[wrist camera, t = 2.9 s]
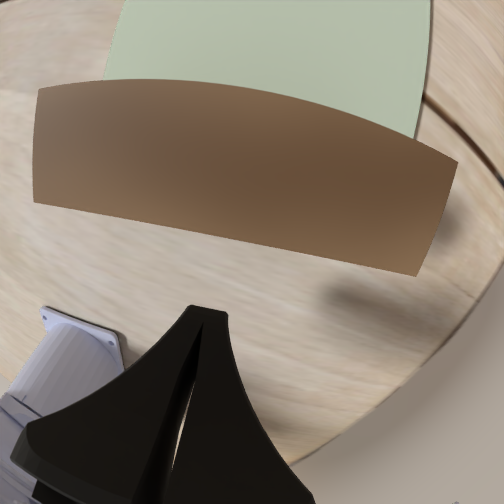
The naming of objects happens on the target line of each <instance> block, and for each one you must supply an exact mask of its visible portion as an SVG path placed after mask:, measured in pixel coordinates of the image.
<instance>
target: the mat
mask: <svg viewBox="0 0 504 504" xmlns="http://www.w3.org/2000/svg"><path fill="white" fill-rule="evenodd" d="M429 29H430V0H125V3H124V5H123V8H122V11H121V14H120V17H119V20H118V23H117V26H116V29H115V33H114V36H113V40H112V43H111V47H110V51H109V55H108V59H107V63H106V68H105V72H104V77H103V80H118V79H169V80H187V81H199V82H209V83H218V84H226V85H233V86H240V87H246V88H252V89H257V90H263V91H268V92H273V93H277V94H282V95H286V96H291V97H295V98H299V99H303V100H307V101H310V102H314V103H318V104H321V105H324V106H328V107H331V108H334V109H338V110H341V111H344V112H347V113H350V114H353V115H356V116H358V117H361V118H364V119H367V120H369V121H372V122H375V123H377V124H380V125H382V126H385V127H387V128H390V129H392V130H394V131H397V132H399V133H401V134H404V135H406V136H408V137H410V138H412V139H413V137H414V132H415V128H416V123H417V119H418V114H419V109H420V103H421V98H422V92H423V86H424V79H425V72H426V64H427V55H428V44H429Z"/></svg>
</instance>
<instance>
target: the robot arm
mask: <svg viewBox="0 0 504 504" xmlns="http://www.w3.org/2000/svg"><path fill="white" fill-rule="evenodd" d="M40 314H41V317H42V320H43V323H44V326H45V328H46V331H47V334H46V336H45V337H44V338H43V340H42V341H41V342H40V344H39V345H38V346H37V348H36V349H35V350H34V352H33V353H32V354H31V356H30V357H29V359H28V360H27V362H26V363H25V364H24V366H23V367H22V369H21V370H20V372H19V373H18V375H17V376H16V378H15V379H14V381H13V382H12V384H11V385H10V387H9V389H8V390H7V392H5V393H4V395H3V396H2V397H1V398H0V504H316V503H315V501H314V498H313V495H312V493H311V492H310V491H309V490H308V489H307V488H306V487H305V486H304V485H303V483H302V482H301V481H300V480H299V479H298V478H297V476H296V475H295V474H294V473H293V472H292V470H291V469H290V468H289V466H288V465H287V464H286V462H285V461H284V460H283V458H282V457H281V455H280V454H279V453H278V451H277V450H276V448H275V446H274V445H273V443H272V442H271V440H270V438H269V437H268V435H267V434H266V432H265V430H264V429H263V427H262V425H261V423H260V421H259V419H258V417H257V416H256V414H255V412H254V410H253V407H252V405H251V403H250V401H249V399H248V396H247V394H246V392H245V389H244V386H243V384H242V381H241V378H240V375H239V372H238V369H237V366H236V362H235V358H234V355H233V351H232V346H231V342H230V336H229V328H228V314H227V313H226V312H225V311H219V310H214V309H209V308H205V307H200V306H195V305H189V306H187V308H186V309H185V311H184V312H183V313H182V315H181V316H180V317H179V318H178V320H177V321H176V322H175V323H174V324H173V325H172V327H171V328H170V329H169V330H168V331H167V332H166V333H165V334H164V335H163V336H162V337H161V338H160V339H159V341H158V342H157V343H156V344H155V345H154V346H152V347H151V348H150V349H149V350H148V351H147V352H146V353H145V354H144V355H143V356H142V357H141V358H140V359H138V360H137V361H136V362H135V363H134V364H132V365H131V366H130V367H129V368H128V369H126V370H125V371H124V366H123V361H122V357H121V352H120V346H119V341H118V337H117V335H116V334H115V333H114V332H112V331H109V330H106V329H103V328H100V327H97V326H94V325H91V324H88V323H86V322H83V321H80V320H77V319H75V318H72V317H69V316H67V315H64V314H62V313H59V312H57V311H54V310H52V309H49V308H47V307H45V306H42V307H41V308H40ZM194 383H195V384H194ZM193 386H194V387H193ZM192 389H193V391H192ZM191 392H192V395H191ZM190 395H191V399H190V403H189V407H188V411H187V415H186V419H185V422H184V426H183V430H182V434H181V438H180V442H179V445H178V449H177V453H176V457H175V461H174V464H173V460H174V455H175V449H176V444H177V439H178V434H179V430H180V426H181V423H182V419H183V416H184V413H185V410H186V407H187V404H188V401H189V398H190ZM172 466H173V468H172ZM171 471H172V472H171ZM453 504H459V503H458V502H455V503H453Z"/></svg>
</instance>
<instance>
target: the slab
mask: <svg viewBox="0 0 504 504" xmlns="http://www.w3.org/2000/svg"><path fill="white" fill-rule="evenodd" d="M457 165H458V162H457V161H455V160H453V159H452V158H450V157H448V156H446V155H444V154H442V153H441V152H439V151H437V150H435V149H433V148H431V147H429V146H427V145H425V144H423V143H421V142H419V141H417V140H414V139H412V138H410V137H408V136H406V135H404V134H401V133H399V132H397V131H394V130H392V129H390V128H387V127H385V126H382V125H380V124H377V123H375V122H372V121H369V120H367V119H364V118H361V117H358V116H356V115H353V114H350V113H347V112H344V111H341V110H338V109H334V108H331V107H328V106H324V105H321V104H318V103H314V102H310V101H307V100H303V99H299V98H295V97H291V96H286V95H282V94H277V93H273V92H268V91H263V90H257V89H252V88H246V87H240V86H233V85H226V84H218V83H209V82H199V81H187V80H169V79H118V80H101V81H89V82H80V83H72V84H64V85H58V86H52V87H46V88H41V89H39V91H38V98H37V105H36V113H35V123H34V136H33V198H34V202H35V203H41V204H47V205H52V206H58V207H64V208H69V209H75V210H80V211H86V212H91V213H97V214H102V215H108V216H113V217H119V218H124V219H130V220H135V221H140V222H146V223H151V224H156V225H161V226H167V227H172V228H177V229H183V230H188V231H193V232H198V233H203V234H208V235H214V236H219V237H224V238H229V239H234V240H239V241H244V242H249V243H254V244H259V245H265V246H270V247H275V248H280V249H285V250H289V251H294V252H299V253H304V254H309V255H314V256H319V257H324V258H329V259H334V260H339V261H343V262H348V263H353V264H358V265H363V266H367V267H372V268H377V269H382V270H387V271H391V272H396V273H401V274H405V275H410V276H415V277H416V276H417V274H418V272H419V270H420V268H421V266H422V263H423V261H424V259H425V257H426V254H427V252H428V250H429V247H430V245H431V242H432V240H433V238H434V235H435V232H436V230H437V227H438V225H439V222H440V219H441V216H442V214H443V211H444V208H445V205H446V202H447V199H448V196H449V193H450V189H451V186H452V183H453V179H454V176H455V172H456V169H457Z"/></svg>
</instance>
